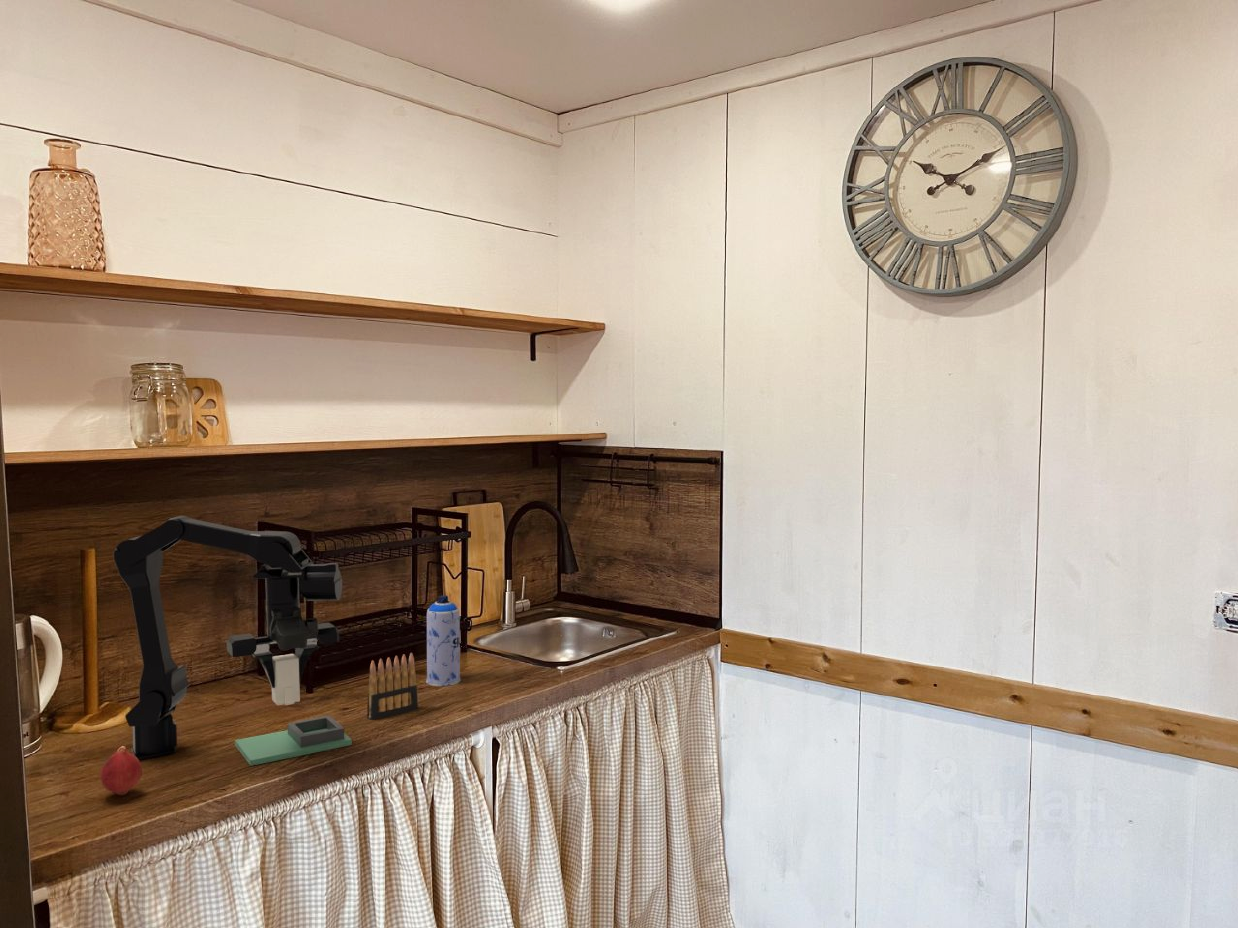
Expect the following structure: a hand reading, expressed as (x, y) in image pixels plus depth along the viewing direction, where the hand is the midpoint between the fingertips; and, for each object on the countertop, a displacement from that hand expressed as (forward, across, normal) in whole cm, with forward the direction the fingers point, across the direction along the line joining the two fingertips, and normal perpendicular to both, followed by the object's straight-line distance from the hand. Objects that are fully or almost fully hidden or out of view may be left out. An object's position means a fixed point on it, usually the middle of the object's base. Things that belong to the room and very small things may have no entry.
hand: (285, 685), depth 165 cm
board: (+12, +1, +2) cm, 12 cm away
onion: (+12, -27, -6) cm, 30 cm away
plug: (+3, 0, 0) cm, 3 cm away
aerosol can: (+13, +41, +24) cm, 49 cm away
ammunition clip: (+12, +23, +9) cm, 28 cm away
